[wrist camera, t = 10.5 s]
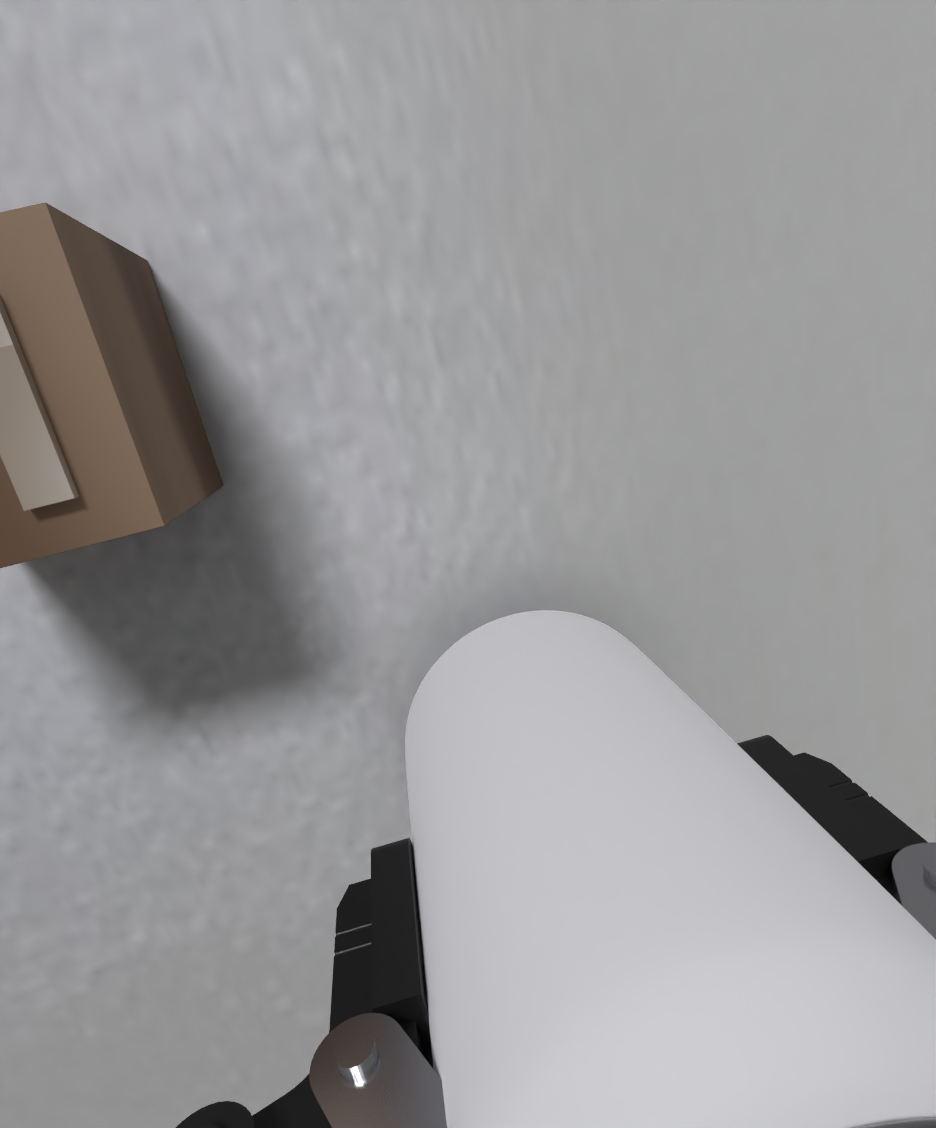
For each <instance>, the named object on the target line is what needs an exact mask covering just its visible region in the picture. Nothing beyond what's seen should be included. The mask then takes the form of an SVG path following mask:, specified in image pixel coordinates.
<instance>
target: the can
mask: <svg viewBox="0 0 936 1128" xmlns="http://www.w3.org/2000/svg"><path fill="white" fill-rule="evenodd" d="M405 758H406V773H407V786H408V798H409V810H410V822H411V833H412V844H413V854H414V865H415V876H416V886H417V897H418V908H419V918H420V929H421V940H422V950H423V961H424V972H425V982H426V992H427V1003H428V1013H429V1027H430V1038H431V1049H432V1059H433V1069H434V1071H435V1072H436V1073H437V1075H438V1076H439V1077H440V1078H441V1080H442V1087H443V1096H444V1105H445V1114H446V1122H447V1128H936V939H935V938H934V937H933V936H932V935H931V934H930V933H929V932H928V931H927V930H926V929H925V928H924V927H923V926H922V925H921V924H920V923H919V922H918V921H917V920H916V919H915V918H914V917H913V916H912V915H911V914H910V913H909V912H908V911H907V910H906V909H905V908H904V907H903V906H902V905H901V904H900V903H899V902H898V901H897V900H896V899H895V898H894V897H893V896H892V895H891V894H890V893H888V892H887V891H886V890H885V889H884V888H883V887H882V886H881V885H880V884H879V883H878V882H877V881H876V880H875V879H874V878H873V877H872V876H871V875H870V874H869V873H868V872H867V871H866V870H865V869H864V868H863V867H862V866H861V865H860V864H859V863H858V862H857V861H856V860H855V859H854V858H853V857H852V856H851V855H850V854H849V853H848V852H847V851H846V850H845V849H844V848H843V847H842V846H841V845H840V844H839V843H838V842H837V841H836V840H835V839H834V838H833V837H832V836H831V835H830V834H829V833H828V832H827V831H826V830H825V829H824V828H823V827H822V826H821V825H820V824H818V823H817V822H816V821H815V820H814V819H813V818H812V817H811V816H810V815H809V814H808V813H807V812H806V811H805V810H804V809H803V808H802V807H801V806H800V805H799V804H798V803H797V802H796V801H795V800H794V799H793V798H792V797H791V796H790V795H789V794H788V793H787V792H786V791H785V790H784V789H783V788H782V787H781V786H780V785H779V784H778V783H777V782H776V781H775V780H774V779H773V778H772V777H770V776H769V775H768V774H767V773H766V772H765V771H764V770H763V769H762V768H761V767H760V766H759V765H758V764H757V763H756V762H755V761H754V760H753V759H752V758H751V757H750V756H749V755H748V754H747V753H746V752H745V751H744V750H743V749H742V748H741V747H740V746H739V745H738V744H737V743H736V742H735V741H734V740H733V739H732V738H731V737H729V736H728V735H727V734H726V733H725V732H724V731H723V730H722V729H721V728H720V727H719V726H718V725H717V724H716V723H715V722H714V721H713V720H712V719H711V718H710V717H709V716H708V715H707V714H706V713H705V712H704V711H703V710H702V709H701V708H700V707H699V706H698V705H697V704H695V703H694V702H693V701H692V700H691V699H690V698H689V697H688V696H687V695H686V694H685V693H684V692H683V691H682V690H681V689H680V688H679V687H678V686H677V685H676V684H675V683H674V682H673V681H672V680H671V679H670V678H669V677H668V676H666V675H665V674H664V673H663V672H662V671H661V670H660V669H659V668H658V667H657V666H656V665H655V664H654V663H653V662H652V661H651V660H650V659H649V658H648V657H647V656H645V655H644V654H643V653H642V652H641V651H640V650H639V649H638V648H637V647H636V646H635V645H634V644H632V643H631V642H630V641H629V640H628V639H627V638H625V637H624V636H623V635H621V634H620V633H619V632H617V631H616V630H614V629H612V628H611V627H609V626H607V625H606V624H604V623H602V622H599V621H597V620H595V619H592V618H589V617H586V616H583V615H580V614H575V613H571V612H564V611H553V610H540V611H529V612H522V613H517V614H512V615H509V616H505V617H502V618H499V619H496V620H494V621H491V622H489V623H487V624H485V625H483V626H480V627H479V628H477V629H475V630H473V631H472V632H470V633H468V634H467V635H465V636H464V637H462V638H461V639H460V640H458V641H457V642H456V643H455V644H453V645H452V646H451V647H450V648H449V649H448V650H447V651H446V652H445V653H444V654H443V655H442V656H441V657H440V658H439V659H438V660H437V661H436V662H435V664H434V665H433V666H432V667H431V669H430V670H429V671H428V673H427V674H426V676H425V677H424V679H423V681H422V682H421V684H420V686H419V688H418V690H417V692H416V694H415V697H414V699H413V702H412V705H411V708H410V711H409V715H408V720H407V726H406V735H405Z"/></svg>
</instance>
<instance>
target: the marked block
mask: <svg viewBox="0 0 936 1128" xmlns="http://www.w3.org/2000/svg"><path fill="white" fill-rule="evenodd" d="M222 486H223V483H222V480H221V477H220V474H219V471H218V468H217V465H216V462H215V459H214V456H213V453H212V450H211V447H210V444H209V441H208V438H207V435H206V432H205V429H204V427H203V424H202V421H201V418H200V415H199V412H198V409H197V406H196V403H195V400H194V397H193V394H192V391H191V388H190V385H189V382H188V379H187V376H186V373H185V370H184V367H183V364H182V361H181V358H180V356H179V353H178V350H177V347H176V344H175V341H174V338H173V335H172V332H171V329H170V326H169V323H168V320H167V317H166V314H165V311H164V308H163V305H162V302H161V299H160V296H159V293H158V290H157V288H156V285H155V282H154V279H153V276H152V273H151V270H150V267H149V264H148V261H147V260H145V259H144V258H142V257H140V256H138V255H137V254H135V253H133V252H131V251H130V250H128V249H126V248H124V247H123V246H121V245H119V244H117V243H116V242H114V241H112V240H110V239H108V238H107V237H105V236H103V235H101V234H100V233H98V232H96V231H94V230H93V229H91V228H89V227H87V226H86V225H84V224H82V223H80V222H79V221H77V220H75V219H73V218H72V217H70V216H68V215H66V214H65V213H63V212H61V211H59V210H58V209H56V208H54V207H52V206H51V205H49V204H47V203H41V204H37V205H32V206H28V207H23V208H19V209H14V210H10V211H5V212H1V213H0V568H3V567H7V566H11V565H14V564H18V563H22V562H26V561H30V560H34V559H38V558H42V557H46V556H49V555H53V554H57V553H61V552H65V551H69V550H73V549H77V548H80V547H84V546H88V545H92V544H96V543H100V542H104V541H108V540H111V539H115V538H119V537H123V536H127V535H131V534H135V533H139V532H142V531H146V530H150V529H154V528H158V527H162V526H165V525H166V524H168V523H169V522H171V521H172V520H174V519H175V518H177V517H178V516H180V515H181V514H183V513H184V512H185V511H187V510H188V509H190V508H191V507H193V506H194V505H196V504H197V503H199V502H200V501H202V500H203V499H205V498H206V497H208V496H209V495H211V494H212V493H213V492H215V491H216V490H218V489H219V488H221V487H222Z"/></svg>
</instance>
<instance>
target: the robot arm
mask: <svg viewBox="0 0 936 1128" xmlns="http://www.w3.org/2000/svg"><path fill="white" fill-rule="evenodd" d="M738 745H739V746H740V747H741V748H742V749H743V750H744V751H745V752H746V753H747V754H748V755H749V756H750V757H751V758H752V759H753V760H754V761H755V762H756V763H757V764H758V765H759V766H760V767H761V768H762V769H763V770H764V771H765V772H766V773H767V774H768V775H769V776H770V777H772V778H773V779H774V780H775V781H776V782H777V783H778V784H779V785H780V786H781V787H782V788H783V789H784V790H785V791H786V792H787V793H788V794H789V795H790V796H791V797H792V798H793V799H794V800H795V801H796V802H797V803H798V804H799V805H800V806H801V807H802V808H803V809H804V810H805V811H806V812H807V813H808V814H809V815H810V816H811V817H812V818H813V819H814V820H815V821H816V822H817V823H818V824H820V825H821V826H822V827H823V828H824V829H825V830H826V831H827V832H828V833H829V834H830V835H831V836H832V837H833V838H834V839H835V840H836V841H837V842H838V843H839V844H840V845H841V846H842V847H843V848H844V849H845V850H846V851H847V852H848V853H849V854H850V855H851V856H852V857H853V858H854V859H855V860H856V861H857V862H858V863H859V864H860V865H861V866H862V867H863V868H864V869H865V870H866V871H867V872H868V873H869V874H870V875H871V876H872V877H873V878H874V879H875V880H876V881H877V882H878V883H879V884H880V885H881V886H882V887H883V888H884V889H885V890H886V891H887V892H888V893H890V894H891V895H892V896H893V897H894V898H895V899H896V900H897V901H898V902H899V903H900V904H901V905H902V906H903V907H904V908H905V909H906V910H907V911H908V912H909V913H910V914H911V915H912V916H913V917H914V918H915V919H916V920H917V921H918V922H919V923H920V924H921V925H922V926H923V927H924V928H925V929H926V930H927V931H928V932H929V933H930V934H931V935H932V936H933V937H934V938H935V939H936V843H928V842H927V841H926V840H924V839H923V838H922V837H921V836H920V835H918V834H917V833H916V832H915V831H913V830H912V829H911V828H910V827H909V826H907V825H906V824H905V823H904V822H902V821H901V820H900V819H899V818H898V817H896V816H895V815H894V814H893V813H891V812H890V811H889V810H888V809H887V808H885V807H884V806H883V805H882V804H880V803H879V802H878V801H877V800H876V799H874V798H873V797H872V796H871V797H869V796H868V793H867V792H866V791H864V790H863V789H862V788H861V787H860V786H858V785H857V784H856V783H852V781H851V779H850V778H849V777H847V776H846V775H845V774H844V773H842V772H841V771H840V770H839V769H838V768H836V767H835V766H834V765H833V764H831V763H829V762H826V761H824V760H822V759H819V758H817V757H814V756H812V755H809V754H807V753H801V754H798V755H794V756H793V755H792V754H791V753H790V752H789V751H788V750H786V749H785V748H784V747H783V746H782V745H781V744H779V743H778V742H777V741H776V740H775V739H774V738H772V737H771V736H769V735H765V736H762V737H758V738H755V739H751V740H748V741H744V742H741V743H738ZM334 952H335V956H334V966H333V983H332V999H331V1016H330V1031H329V1034H328V1035H327V1036H326V1037H325V1038H324V1040H323V1041H322V1042H321V1044H320V1045H319V1047H318V1049H317V1050H316V1052H315V1054H314V1057H313V1059H312V1062H311V1067H310V1073H309V1074H308V1076H307V1077H306V1078H305V1079H304V1080H303V1081H302V1082H301V1083H300V1084H298V1085H297V1086H296V1087H295V1088H294V1089H292V1090H291V1091H290V1092H288V1093H287V1094H285V1095H284V1096H282V1097H281V1098H279V1099H278V1100H276V1101H275V1102H273V1103H271V1104H270V1105H268V1106H267V1107H265V1108H264V1109H262V1110H261V1111H259V1112H257V1113H256V1114H254V1115H253V1116H252V1115H251V1113H250V1112H249V1111H248V1110H247V1108H246V1107H244V1106H243V1105H241V1104H239V1103H236V1102H229V1101H224V1102H217V1103H214V1104H210V1105H208V1106H206V1107H204V1108H201V1109H199V1110H198V1111H196V1112H195V1113H193V1114H191V1115H190V1116H189V1117H187V1118H186V1119H185V1120H183V1121H182V1122H181V1123H180V1124H179V1125H178V1126H177V1127H176V1128H447V1122H446V1114H445V1105H444V1096H443V1087H442V1080H441V1078H440V1077H439V1076H438V1075H437V1073H436V1072H435V1071H434V1069H433V1059H432V1049H431V1038H430V1027H429V1013H428V1003H427V992H426V982H425V972H424V961H423V950H422V940H421V929H420V918H419V908H418V897H417V886H416V876H415V865H414V854H413V846H412V843H411V840H410V839H409V838H407V839H404V840H400V841H397V842H393V843H390V844H387V845H383V846H380V847H376V848H373V849H372V850H371V879H368V880H365V881H361V882H358V883H355V884H351V885H349V887H348V889H347V890H346V892H345V894H344V896H343V898H342V900H341V902H340V904H339V906H338V908H337V917H336V937H335V950H334Z"/></svg>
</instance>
